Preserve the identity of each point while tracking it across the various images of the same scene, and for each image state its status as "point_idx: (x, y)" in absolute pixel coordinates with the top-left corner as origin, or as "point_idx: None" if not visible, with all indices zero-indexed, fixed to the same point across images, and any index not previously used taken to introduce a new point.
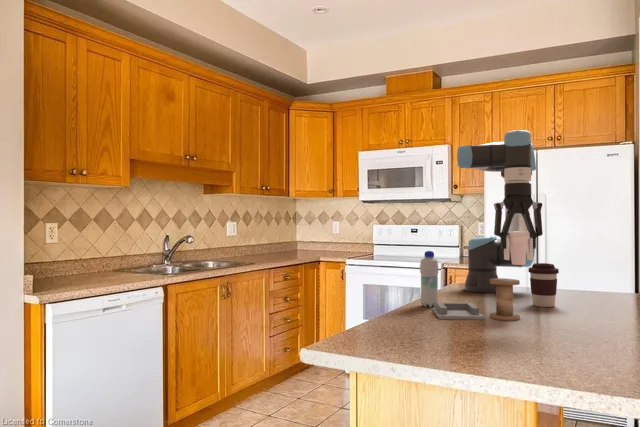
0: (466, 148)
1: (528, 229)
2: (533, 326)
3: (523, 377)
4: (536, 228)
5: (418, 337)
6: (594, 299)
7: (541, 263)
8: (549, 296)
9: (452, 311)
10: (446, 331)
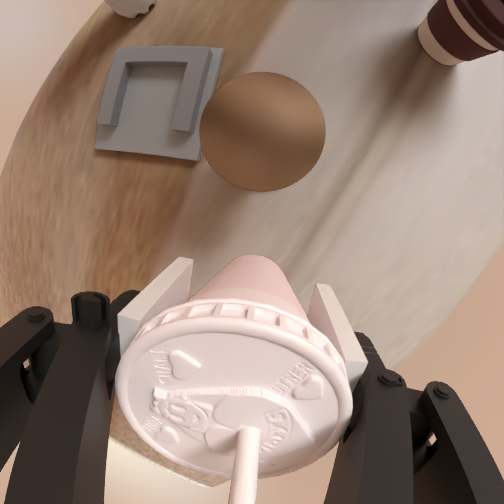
0: None
1: (350, 451)
2: (286, 254)
3: (142, 448)
4: (444, 436)
5: (46, 295)
6: None
7: None
8: (456, 58)
9: (142, 92)
10: (85, 266)
